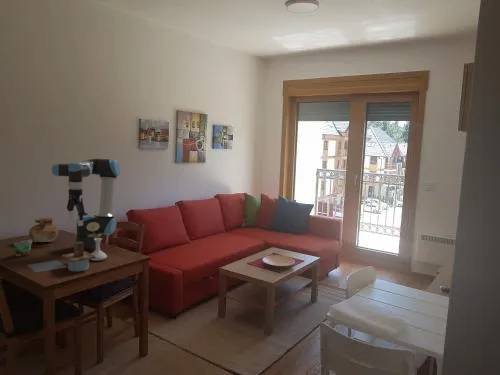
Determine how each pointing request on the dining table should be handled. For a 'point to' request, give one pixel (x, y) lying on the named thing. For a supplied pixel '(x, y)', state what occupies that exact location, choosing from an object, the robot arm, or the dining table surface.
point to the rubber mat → (46, 266)
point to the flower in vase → (97, 253)
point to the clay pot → (43, 230)
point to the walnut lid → (78, 253)
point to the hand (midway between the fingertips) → (75, 223)
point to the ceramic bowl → (78, 265)
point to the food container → (23, 248)
